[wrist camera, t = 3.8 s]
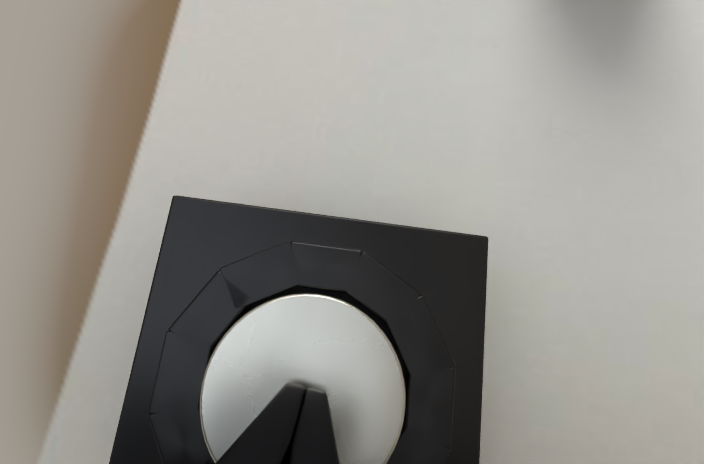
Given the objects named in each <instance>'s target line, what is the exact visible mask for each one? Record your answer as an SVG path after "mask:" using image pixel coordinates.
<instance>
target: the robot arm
mask: <svg viewBox="0 0 704 464" xmlns="http://www.w3.org/2000/svg"><path fill="white" fill-rule="evenodd" d="M305 392H306V393H305ZM215 464H340V462H339V456H338V451H337V445H336V440H335V434H334V429H333V423H332V418H331V412H330V407H329V402H328V396H327V393H326V392H325V391H323V390H319V389H315V388H311V387H309V388H307V390H306V387H305V386H303V385H300V384H296V383H292V382H288V383H286V384H285V385H284V386H283V387H282V388H281V389H280V390H279V392H278V393H277V394H276V395H275V396H274V397H273V398H272V400H271V401H270V402H269V403H268V404H267V405H266V406H265V407H264V409H263V410H262V411H261V412H260V413H259V414H258V415H257V417H256V418H255V419H254V420H253V421H252V422H251V423H250V425H249V426H248V427H247V428H246V429H245V430H244V431H243V433H242V434H241V435H240V436H239V437H238V438H237V439H236V440H235V442H234V443H233V444H232V445H231V446H230V447H229V448H228V450H227V451H226V452H225V453H224V454H223V455H222V456H221V458H220V459H219V460H218V461H217V462H216V463H215Z"/></svg>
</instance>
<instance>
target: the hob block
mask: <svg viewBox="0 0 704 464" xmlns="http://www.w3.org/2000/svg"><path fill="white" fill-rule="evenodd" d="M487 257H488V237H486V236H479V235H471V234H464V233H456V232H448V231H441V230H433V229H426V228H418V227H411V226H403V225H396V224H388V223H380V222H373V221H365V220H358V219H350V218H343V217H335V216H327V215H320V214H312V213H305V212H297V211H290V210H282V209H274V208H267V207H259V206H252V205H244V204H237V203H229V202H221V201H214V200H206V199H199V198H191V197H184V196H173V198H172V202H171V206H170V211H169V215H168V219H167V223H166V227H165V232H164V236H163V240H162V244H161V248H160V252H159V257H158V261H157V265H156V269H155V273H154V278H153V282H152V286H151V290H150V294H149V298H148V303H147V307H146V311H145V315H144V319H143V324H142V328H141V332H140V336H139V340H138V344H137V349H136V353H135V357H134V361H133V365H132V370H131V374H130V378H129V382H128V386H127V391H126V395H125V399H124V403H123V407H122V411H121V416H120V420H119V424H118V428H117V432H116V437H115V441H114V445H113V449H112V453H111V457H110V462H109V464H215V462H214V461H213V459H212V457H211V455H210V453H209V451H208V448H207V446H206V443H205V440H204V436H203V432H202V428H201V421H200V392H201V385H202V381H203V377H204V373H205V369H206V367H207V364H208V362H209V359H210V357H211V355H212V353H213V351H214V349H215V348H216V346H217V344H218V343H219V341H220V340H221V338H222V337H223V336H224V334H225V333H226V332H227V331H228V330H229V328H230V327H231V326H232V325H233V324H234V323H235V322H236V321H237V320H239V319H240V318H241V317H242V316H243V315H244V314H246V313H247V312H249V311H250V310H252V309H253V308H255V307H257V306H259V305H261V304H263V303H265V302H267V301H269V300H272V299H275V298H278V297H281V296H286V295H291V294H301V293H312V294H322V295H327V296H331V297H334V298H337V299H340V300H343V301H345V302H347V303H349V304H351V305H353V306H355V307H357V308H358V309H360V310H361V311H363V312H364V313H366V314H367V315H368V316H369V317H370V318H371V319H372V320H374V321H375V322H376V323H377V325H378V326H379V327H380V328H381V329H382V330H383V331H384V333H385V334H386V336H387V337H388V339H389V340H390V342H391V344H392V346H393V347H394V349H395V351H396V353H397V356H398V359H399V361H400V364H401V367H402V371H403V376H404V380H405V390H406V409H405V416H404V423H403V427H402V430H401V434H400V437H399V440H398V442H397V445H396V447H395V449H394V451H393V453H392V455H391V457H390V458H389V460H388V462H387V463H386V464H479V457H480V432H481V407H482V382H483V357H484V332H485V307H486V282H487Z"/></svg>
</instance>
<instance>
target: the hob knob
mask: <svg viewBox="0 0 704 464" xmlns="http://www.w3.org/2000/svg"><path fill="white" fill-rule="evenodd" d="M288 382H292V383H296V384H300V385H303V386H305V387H306V390H307V388H309V387H311V388H315V389H319V390H323V391H325V392H326V393H327V396H328V402H329V407H330V412H331V418H332V423H333V429H334V434H335V440H336V445H337V451H338V456H339V462H340V464H386V463H387V462H388V460H389V458H390V457H391V455H392V453H393V451H394V449H395V447H396V445H397V442H398V440H399V437H400V434H401V430H402V427H403V423H404V416H405V409H406V390H405V380H404V376H403V371H402V367H401V364H400V361H399V359H398V356H397V353H396V351H395V349H394V347H393V346H392V344H391V342H390V340H389V339H388V337H387V336H386V334H385V333H384V331H383V330H382V329H381V328H380V327H379V326H378V325H377V323H376V322H375V321H374V320H372V319H371V318H370V317H369V316H368V315H367V314H366V313H364V312H363V311H361V310H360V309H358V308H357V307H355V306H353V305H351V304H349V303H347V302H345V301H343V300H340V299H337V298H334V297H331V296H327V295H322V294H312V293H301V294H291V295H286V296H281V297H278V298H275V299H272V300H269V301H267V302H265V303H263V304H261V305H259V306H257V307H255V308H253V309H252V310H250V311H249V312H247V313H246V314H244V315H243V316H242V317H241V318H240V319H239V320H237V321H236V322H235V323H234V324H233V325H232V326H231V327H230V328H229V330H228V331H227V332H226V333H225V334H224V336H223V337H222V338H221V340H220V341H219V343H218V344H217V346H216V348H215V349H214V351H213V353H212V355H211V357H210V359H209V362H208V364H207V367H206V369H205V373H204V377H203V381H202V385H201V392H200V421H201V428H202V432H203V436H204V440H205V443H206V446H207V448H208V451H209V453H210V455H211V457H212V459H213V461H214V462H215V463H216V462H217V461H218V460H219V459H220V458H221V456H222V455H223V454H224V453H225V452H226V451H227V450H228V448H229V447H230V446H231V445H232V444H233V443H234V442H235V440H236V439H237V438H238V437H239V436H240V435H241V434H242V433H243V431H244V430H245V429H246V428H247V427H248V426H249V425H250V423H251V422H252V421H253V420H254V419H255V418H256V417H257V415H258V414H259V413H260V412H261V411H262V410H263V409H264V407H265V406H266V405H267V404H268V403H269V402H270V401H271V400H272V398H273V397H274V396H275V395H276V394H277V393H278V392H279V390H280V389H281V388H282V387H283V386H284V385H285V384H286V383H288ZM305 393H306V392H305Z"/></svg>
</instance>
